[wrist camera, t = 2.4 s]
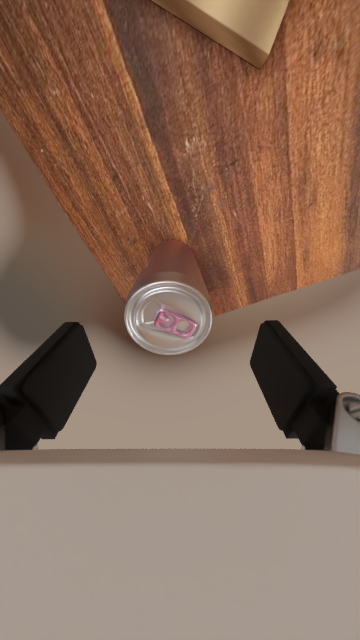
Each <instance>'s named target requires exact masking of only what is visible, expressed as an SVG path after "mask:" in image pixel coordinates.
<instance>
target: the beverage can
mask: <svg viewBox="0 0 360 640" xmlns="http://www.w3.org/2000/svg"><path fill="white" fill-rule="evenodd" d="M124 315H125V316H124V319H125V325H126V328H127V331H128V332H129V334H130V336H131V337H132V338H133V340H134V341H135V342H136V343H137V344H139V345H140V346H141V347H143V348H145V349H147V350H148V351H151V352H154V353H157V354H163V355H176V354H181V353H185V352H188V351H190V350H192V349H194V348H196V347H197V346H198V345H199V344H201V343H202V342H203V341H204V339H205V338H206V337H207V335H208V333H209V331H210V329H211V325H212V302H211V299H210V296H209V293H208V291H207V288H206V285H205V283H204V280H203V277H202V275H201V272H200V269H199V267H198V264H197V261H196V258H195V256H194V253H193V251H192V250H191V248H190V247H189V246H188V245H187V244H185V243H184V242H181V241H179V240H167V241H164V242H162V243H160V244H159V245H158V246H157V247H156V248H155V249H154V251H153V253H152V255H151V256H150V258H149V260H148V261H147V263H146V265H145V267H144V268H143V270H142V272H141V273H140V275H139V277H138V279H137V280H136V282H135V284H134V285H133V287H132V289H131V291H130V292H129V294H128V297H127V300H126V306H125V314H124Z"/></svg>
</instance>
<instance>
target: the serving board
mask: <svg viewBox="0 0 360 640" xmlns="http://www.w3.org/2000/svg"><path fill="white" fill-rule="evenodd" d="M151 1H153V2H154V3H156V4H158V5H159V6H161V7H162V8H164V9H165V10H167V11H169V12H170V13H172V14H173V15H175V16H176V17H178V18H180V19H181V20H183V21H184V22H186V23H188V24H189V25H191V26H192V27H194V28H195V29H197V30H199V31H200V32H202V33H203V34H205V35H206V36H208V37H210V38H211V39H213V40H214V41H216V42H217V43H219V44H221V45H222V46H224V47H225V48H227V49H229V50H230V51H232V52H233V53H235V54H236V55H238V56H240V57H241V58H243V59H244V60H246V61H247V62H249V63H251V64H252V65H254V66H255V67H257V68H259V69H261V67H262V66H263V64H264V62H265V61H266V59H267V57H268V55H269V54H270V51H271V48H272V46H273V43H274V40H275V38H276V35H277V32H278V30H279V27H280V24H281V22H282V19H283V17H284V14H285V11H286V9H287V6H288V3H289V1H290V0H151Z"/></svg>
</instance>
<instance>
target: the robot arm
mask: <svg viewBox="0 0 360 640" xmlns="http://www.w3.org/2000/svg"><path fill="white" fill-rule="evenodd" d="M250 365H251V368H252V370H253V373H254V375H255V377H256V379H257V382H258V384H259V386H260V388H261V390H262V393H263V394H264V397H265V399H266V402H267V404H268V406H269V408H270V410H271V413H272V415H273V417H274V419H275V422H276V424H277V426H278V428H279V429H280V430H283V432H284V434H285V436H286V438H299V440H300V442H301V444H302V449H301V450H291V449H289V450H287V449H62V450H61V449H55V450H54V449H50V450H38V446H37V443H38V441H39V440H40V438H42V439H55V437H56V435H57V433H58V432H59V431H61V430H62V429H63V427H64V426H65V424H66V422H67V420H68V418H69V416H70V414H71V413H72V411H73V409H74V407H75V405H76V403H77V401H78V400H79V398H80V396H81V394H82V392H83V390H84V389H85V387H86V385H87V383H88V381H89V379H90V377H91V376H92V374H93V372H94V370H95V368H96V359H95V357H94V354H93V351H92V349H91V346H90V343H89V341H88V338H87V336H86V333H85V330H84V328H83V326H82V325H80V324H79V323H78V322H65V323H64V324H63V325H62V326H61V327H59V328H58V329H57V330H56V332H54V333H53V334H52V335H51V336H50V337H49V338H48V339H47V340H46V341H45V342H44V343H43V344H42V345H41V346H40V347H39V348H38V349H37V350H36V351H35V352H34V353H33V354H32V355H31V356H30V357H29V358H27V359H26V360H25V361H24V362H23V363H22V364H21V365H20V366H19V367H18V368H17V369H16V370H15V371H14V372H13V373H12V374H11V375H10V376H9V377H8V378H7V379H6V380H5V381H4V382H3V383H2V384H1V385H0V640H360V395H358V394H355V393H349V392H345V393H341V394H339V393H338V392H337V390H336V387H337V386H336V385H335V384H334V383H333V382H332V381H331V380H330V379H329V377H328V376H327V375H326V374H325V373H324V372H323V371H322V369H321V368H320V367H319V366H318V365H317V364H316V363H315V362H314V361H313V359H312V358H311V357H310V356H309V355H308V354H307V353H306V351H305V350H304V349H303V348H302V347H301V346H300V345H299V343H298V342H297V341H296V340H295V339H294V338H293V337H292V336H291V334H290V333H289V332H288V331H287V330H286V329H285V328H284V327H283V326H282V324H281V323H280V322H279V321H277V320H275V321H265V322H264V323H262V324H261V325H260V328H259V332H258V336H257V339H256V342H255V346H254V350H253V353H252V357H251V360H250Z"/></svg>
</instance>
